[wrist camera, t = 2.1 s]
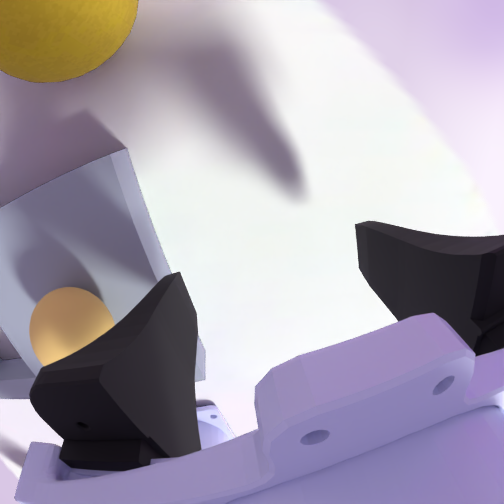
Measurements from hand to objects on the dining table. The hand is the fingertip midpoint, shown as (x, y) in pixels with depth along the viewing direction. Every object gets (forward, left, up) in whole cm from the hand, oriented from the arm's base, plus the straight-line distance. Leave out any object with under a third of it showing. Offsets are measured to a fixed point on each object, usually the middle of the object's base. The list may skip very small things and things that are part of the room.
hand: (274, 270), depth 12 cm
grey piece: (0, +15, -3) cm, 15 cm away
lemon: (+12, +5, -3) cm, 13 cm away
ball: (0, +9, -1) cm, 9 cm away
